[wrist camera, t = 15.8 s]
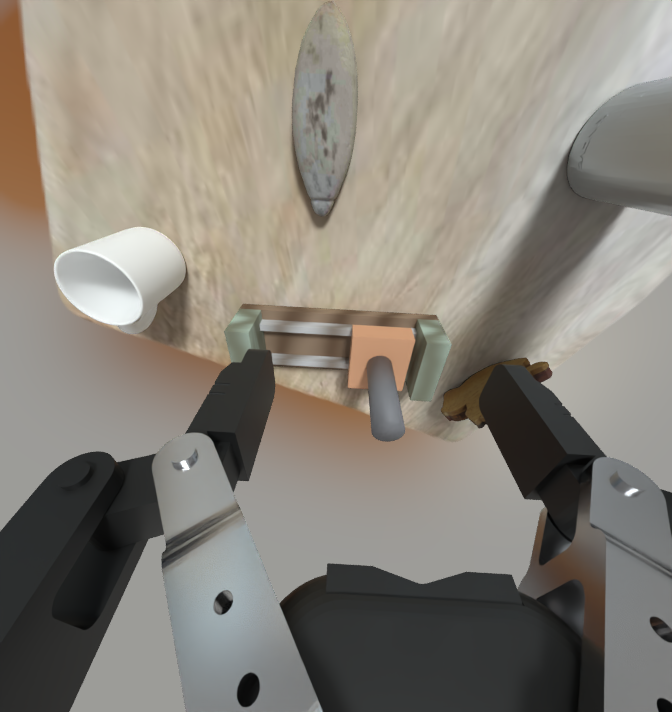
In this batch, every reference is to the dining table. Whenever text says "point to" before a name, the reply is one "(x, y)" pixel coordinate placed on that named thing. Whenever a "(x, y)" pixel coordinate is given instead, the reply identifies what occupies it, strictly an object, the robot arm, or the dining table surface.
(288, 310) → the rail bed
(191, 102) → the dining table surface
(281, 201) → the dining table surface
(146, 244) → the mug
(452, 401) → the wooden carving
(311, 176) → the decorative stone
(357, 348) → the carriage
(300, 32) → the dining table surface
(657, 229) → the dining table surface
